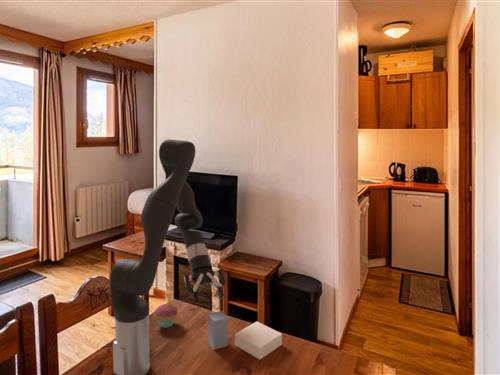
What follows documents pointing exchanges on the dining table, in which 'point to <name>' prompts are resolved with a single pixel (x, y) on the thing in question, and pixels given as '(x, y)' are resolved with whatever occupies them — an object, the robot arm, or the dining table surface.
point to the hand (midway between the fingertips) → (209, 301)
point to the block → (217, 330)
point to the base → (258, 340)
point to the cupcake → (166, 314)
